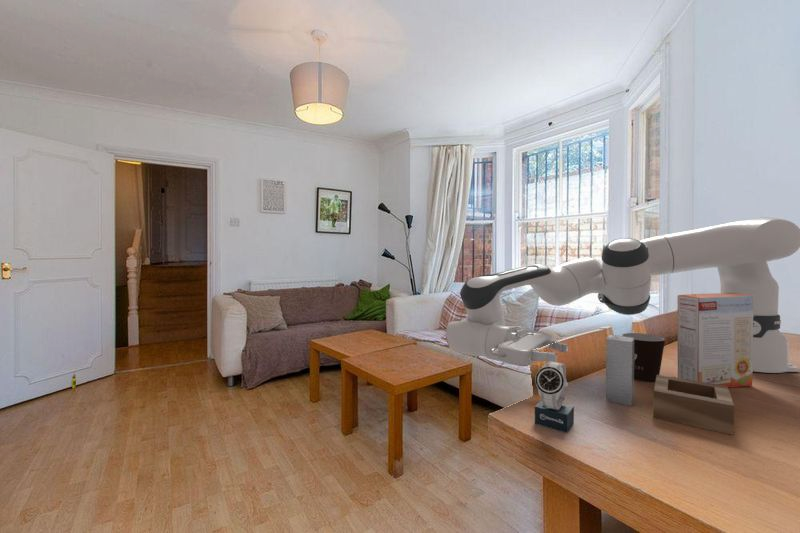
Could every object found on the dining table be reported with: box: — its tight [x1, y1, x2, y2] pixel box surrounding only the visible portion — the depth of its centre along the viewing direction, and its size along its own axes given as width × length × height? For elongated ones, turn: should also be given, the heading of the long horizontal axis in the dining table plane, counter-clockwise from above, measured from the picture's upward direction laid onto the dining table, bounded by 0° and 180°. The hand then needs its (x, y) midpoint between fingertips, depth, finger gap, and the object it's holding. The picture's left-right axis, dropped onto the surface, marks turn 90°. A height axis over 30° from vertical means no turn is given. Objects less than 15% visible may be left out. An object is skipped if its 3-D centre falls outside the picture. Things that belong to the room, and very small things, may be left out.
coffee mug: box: [621, 332, 666, 383], centre depth 89 cm, size 12×9×10 cm
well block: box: [652, 374, 735, 436], centre depth 68 cm, size 11×11×5 cm
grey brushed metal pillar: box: [605, 334, 635, 407], centre depth 75 cm, size 4×4×13 cm
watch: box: [534, 361, 575, 434], centre depth 65 cm, size 6×8×11 cm
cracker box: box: [677, 292, 754, 388], centre depth 83 cm, size 14×6×21 cm, turn 97°
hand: (562, 352), depth 82 cm, fingers open, 8 cm apart
